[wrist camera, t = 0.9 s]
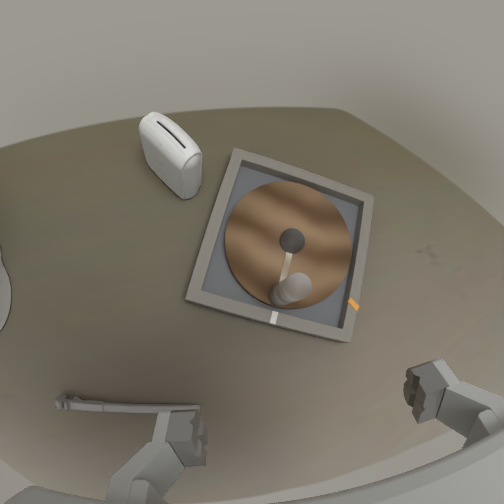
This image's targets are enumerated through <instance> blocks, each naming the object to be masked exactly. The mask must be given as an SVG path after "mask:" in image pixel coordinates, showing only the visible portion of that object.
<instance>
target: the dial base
mask: <svg viewBox="0 0 504 504" xmlns="http://www.w3.org/2000/svg"><path fill="white" fill-rule="evenodd" d="M281 181H283V182H294V183H299V184H303V185H306V186H308V187H310V188H313V189H314V190H316V191H318V192H320V193H321V194H322V195H324V196H325V197H326V198H327V199H329V200H330V201H331V202H332V203H333V204H334V206H335V207H336V208H337V209H338V211H339V212H340V214H341V215H342V217H343V219H344V221H345V223H346V225H347V228H348V231H349V235H350V240H351V260H350V265H349V268H348V271H347V274H346V276H345V278H344V280H343V281H342V283H341V284H340V286H339V287H338V288H337V289H336V290H335V291H334V292H333V293H332V294H331V295H330V296H329V297H327V298H326V299H324V300H323V301H321V302H319V303H317V304H314V305H311V306H308V307H304V308H299V309H281V308H276V307H272V306H269V305H266V304H264V303H262V302H260V301H258V300H257V299H255V298H254V297H252V296H251V295H249V294H248V293H247V292H246V291H245V290H244V289H243V288H242V287H241V286H240V285H239V283H238V282H237V281H236V279H235V278H234V276H233V274H232V272H231V270H230V268H229V266H228V263H227V260H226V255H225V249H224V238H225V231H226V226H227V223H228V220H229V217H230V215H231V213H232V211H233V209H234V207H235V206H236V205H237V203H238V202H239V201H240V200H241V199H242V198H243V197H244V196H245V195H246V194H247V193H249V192H250V191H252V190H253V189H255V188H257V187H259V186H262V185H264V184H268V183H272V182H281ZM373 201H374V196H372V195H370V194H367V193H365V192H362V191H360V190H357V189H354V188H352V187H349V186H347V185H344V184H341V183H339V182H336V181H333V180H331V179H328V178H325V177H323V176H320V175H317V174H314V173H311V172H309V171H306V170H303V169H300V168H297V167H294V166H291V165H288V164H285V163H282V162H279V161H276V160H273V159H270V158H267V157H264V156H261V155H258V154H254V153H251V152H248V151H245V150H241V149H238V148H235V147H234V150H233V153H232V156H231V158H230V161H229V164H228V167H227V170H226V173H225V176H224V178H223V181H222V184H221V187H220V190H219V193H218V196H217V199H216V202H215V205H214V208H213V211H212V214H211V217H210V220H209V223H208V226H207V229H206V233H205V236H204V239H203V242H202V245H201V248H200V251H199V255H198V258H197V261H196V264H195V267H194V271H193V274H192V277H191V281H190V284H189V287H188V290H187V294H186V297H185V301H186V302H190V303H193V304H196V305H200V306H203V307H206V308H210V309H213V310H217V311H220V312H224V313H227V314H231V315H234V316H238V317H241V318H245V319H249V320H252V321H256V322H260V323H264V324H267V325H271V326H275V327H279V328H283V329H287V330H291V331H295V332H299V333H303V334H307V335H311V336H315V337H319V338H323V339H328V340H332V341H336V342H341V343H351V338H352V334H353V329H354V324H355V319H356V314H357V310H358V309H359V306H358V304H359V298H360V293H361V287H362V281H363V275H364V269H365V263H366V256H367V249H368V242H369V235H370V227H371V219H372V210H373Z"/></svg>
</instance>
